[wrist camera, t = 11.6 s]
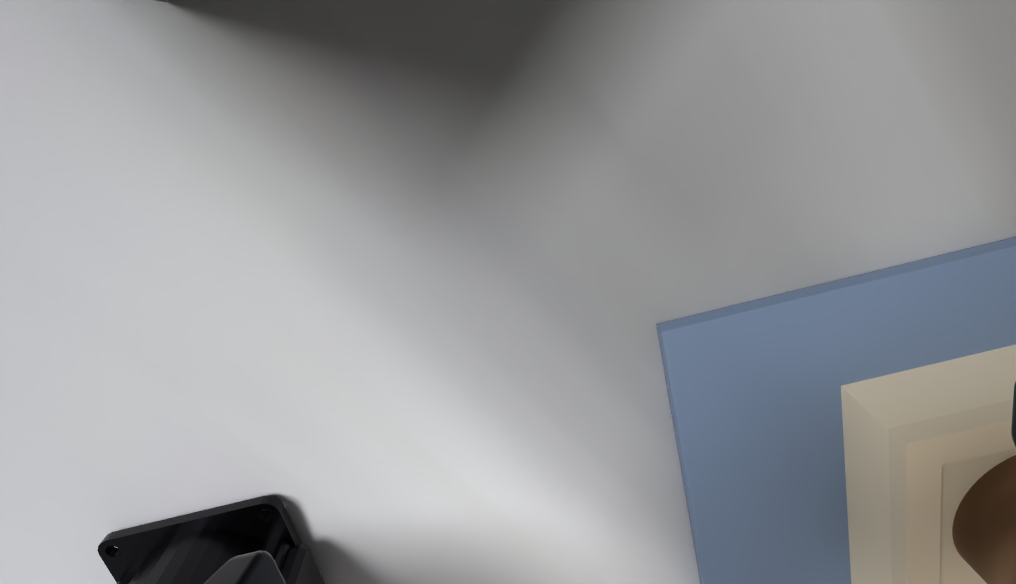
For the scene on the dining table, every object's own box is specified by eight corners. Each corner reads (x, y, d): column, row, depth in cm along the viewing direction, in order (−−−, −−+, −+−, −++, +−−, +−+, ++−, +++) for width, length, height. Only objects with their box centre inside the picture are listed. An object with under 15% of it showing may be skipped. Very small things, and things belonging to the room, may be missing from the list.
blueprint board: (715, 666, 26) (754, 766, 22) (656, 324, 20) (697, 384, 16) (1204, 558, 25) (1329, 644, 21) (1288, 170, 19) (1481, 196, 15)
